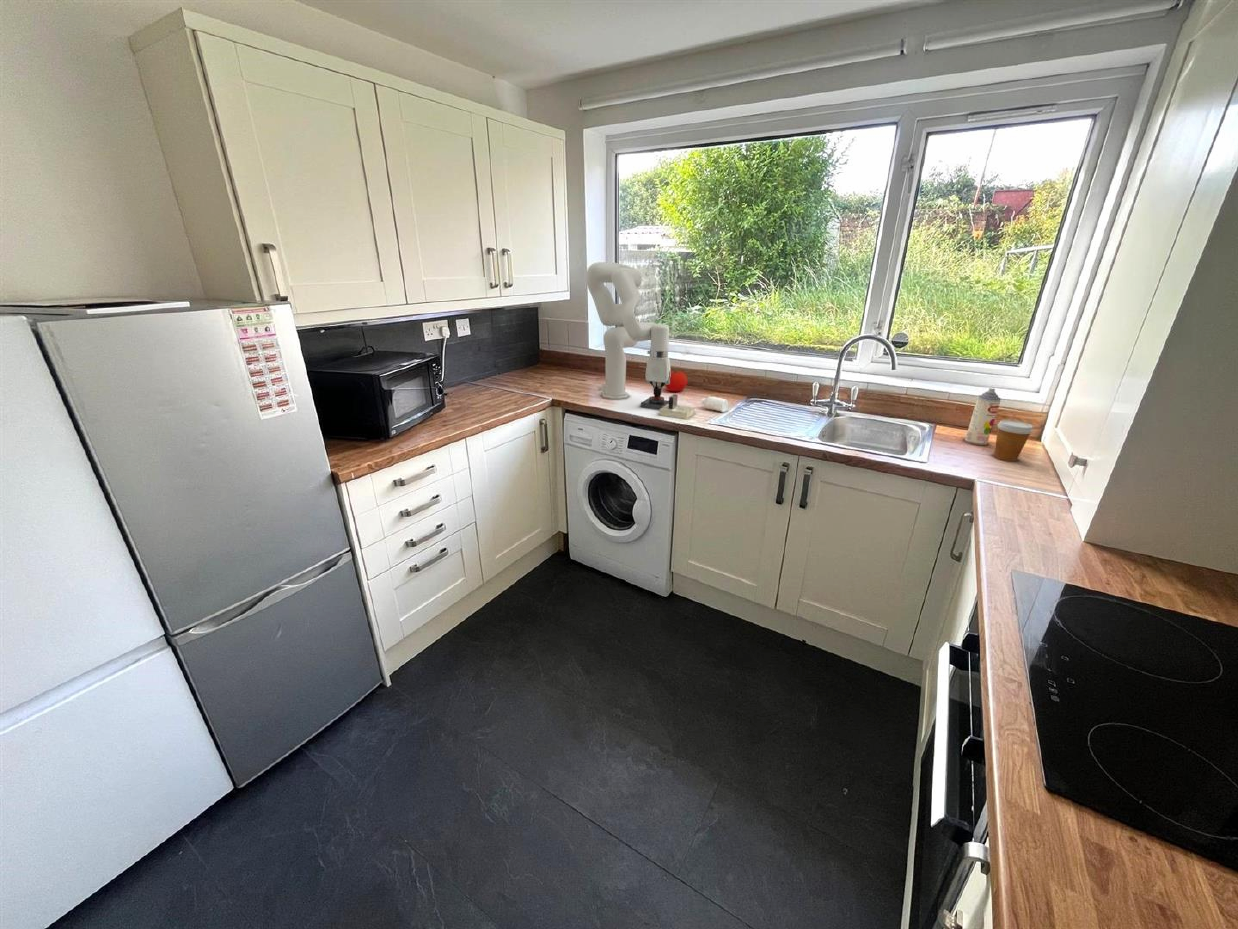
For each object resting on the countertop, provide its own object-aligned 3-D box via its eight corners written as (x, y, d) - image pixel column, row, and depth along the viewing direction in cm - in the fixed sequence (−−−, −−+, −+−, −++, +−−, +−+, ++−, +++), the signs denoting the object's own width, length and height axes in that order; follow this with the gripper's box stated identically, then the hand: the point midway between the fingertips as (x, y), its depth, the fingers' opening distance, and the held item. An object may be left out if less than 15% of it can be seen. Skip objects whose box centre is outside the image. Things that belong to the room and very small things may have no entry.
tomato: (670, 387, 256) (671, 367, 252) (690, 390, 250) (692, 370, 246) (658, 391, 247) (659, 370, 243) (678, 394, 241) (680, 373, 237)
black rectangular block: (672, 409, 206) (673, 396, 204) (668, 408, 207) (669, 396, 205) (677, 406, 211) (677, 394, 209) (673, 405, 211) (673, 393, 209)
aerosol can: (979, 446, 178) (996, 391, 171) (960, 440, 184) (976, 387, 177) (991, 444, 181) (1008, 390, 174) (972, 438, 187) (987, 385, 179)
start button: (651, 400, 218) (651, 397, 217) (654, 399, 221) (654, 395, 220) (658, 402, 216) (659, 398, 216) (661, 400, 219) (662, 396, 219)
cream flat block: (657, 414, 207) (657, 408, 206) (665, 409, 216) (666, 403, 215) (686, 419, 202) (687, 412, 201) (694, 413, 211) (694, 407, 210)
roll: (703, 405, 223) (704, 393, 221) (727, 410, 216) (729, 397, 214) (696, 408, 219) (697, 395, 217) (721, 413, 212) (722, 400, 210)
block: (640, 407, 218) (641, 398, 216) (648, 402, 225) (648, 394, 224) (664, 410, 214) (664, 401, 212) (671, 405, 221) (672, 397, 220)
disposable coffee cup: (1024, 465, 161) (1036, 429, 157) (988, 459, 166) (999, 424, 162) (1020, 456, 169) (1032, 422, 165) (987, 451, 174) (997, 418, 169)
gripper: (639, 354, 211) (638, 396, 217) (672, 357, 205) (670, 400, 212) (646, 351, 217) (644, 393, 224) (678, 354, 211) (676, 397, 218)
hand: (657, 396), depth 218 cm, fingers closed
